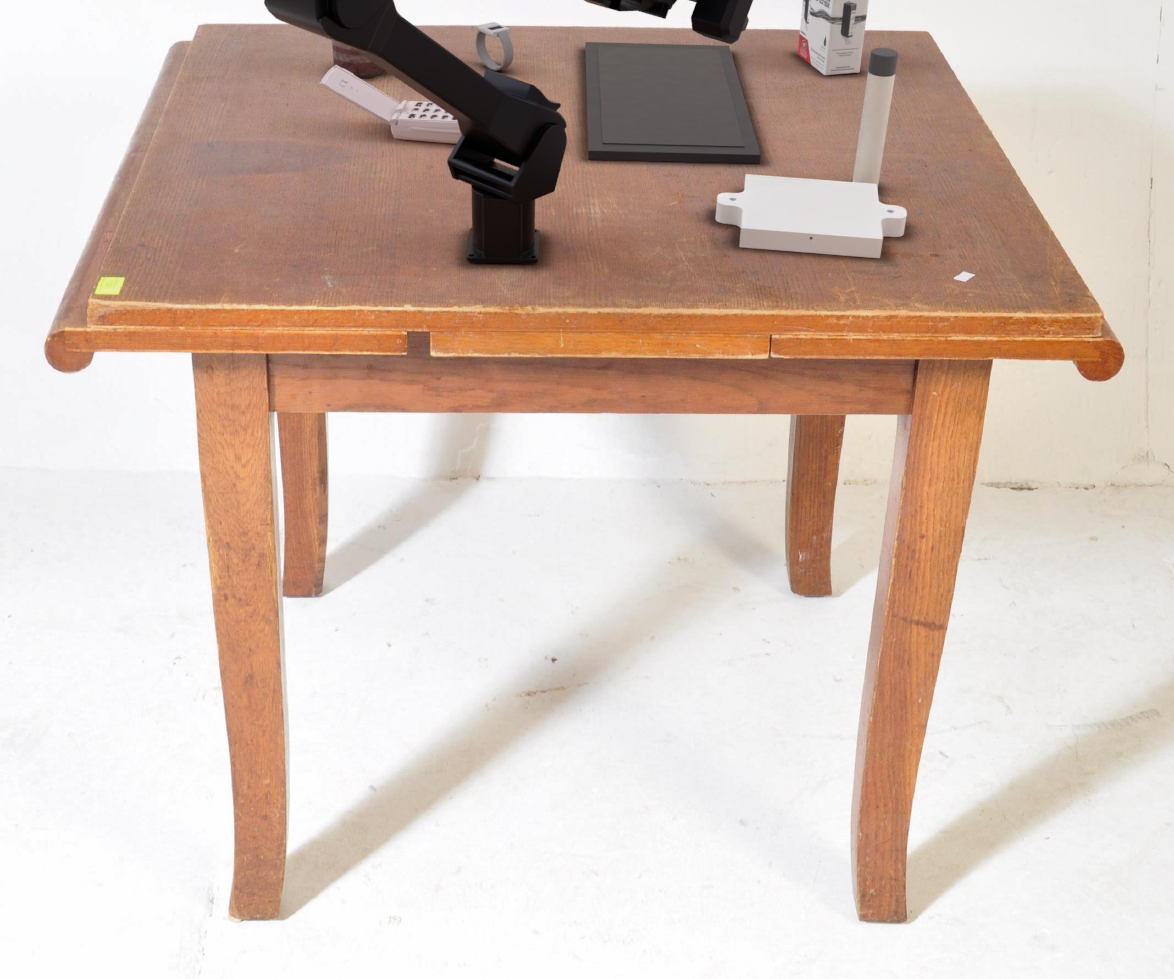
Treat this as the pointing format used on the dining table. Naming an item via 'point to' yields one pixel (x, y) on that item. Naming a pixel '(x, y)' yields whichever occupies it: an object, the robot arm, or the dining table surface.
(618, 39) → the dining table surface
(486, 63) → the wristwatch
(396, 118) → the mobile phone
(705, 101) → the tablet
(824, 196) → the mounting plate
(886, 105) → the white plastic rod
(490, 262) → the robot arm
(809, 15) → the ink box
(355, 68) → the can
